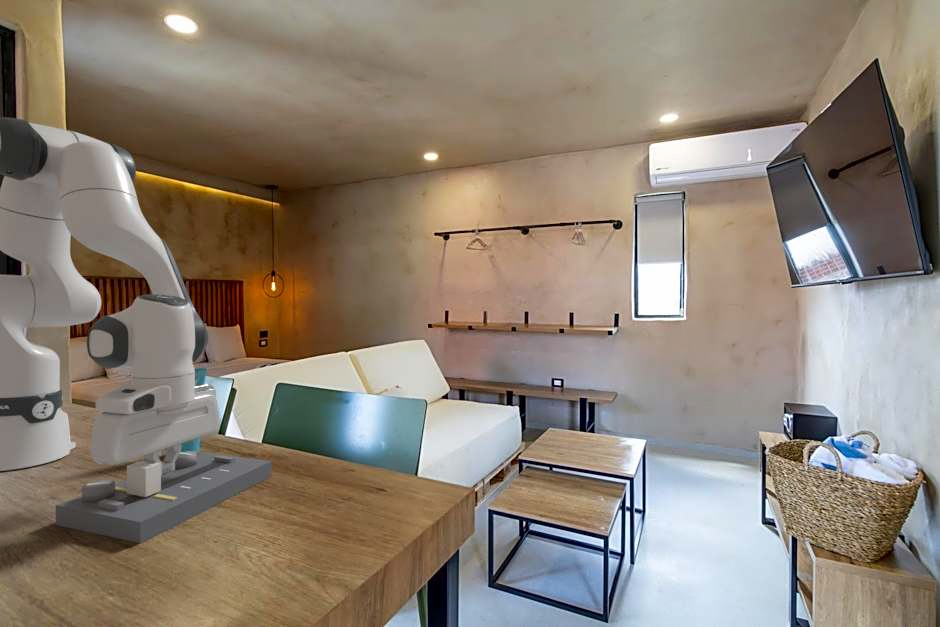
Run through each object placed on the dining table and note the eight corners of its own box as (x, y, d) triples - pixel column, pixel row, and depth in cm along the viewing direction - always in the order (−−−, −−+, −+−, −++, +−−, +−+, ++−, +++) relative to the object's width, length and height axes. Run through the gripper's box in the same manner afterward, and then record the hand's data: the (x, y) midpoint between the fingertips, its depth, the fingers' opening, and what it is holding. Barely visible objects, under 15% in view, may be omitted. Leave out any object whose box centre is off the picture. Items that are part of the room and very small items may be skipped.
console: (55, 524, 67) (55, 490, 67) (202, 466, 92) (203, 441, 92) (140, 543, 62) (140, 506, 62) (271, 476, 87) (271, 450, 87)
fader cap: (126, 493, 71) (126, 465, 71) (142, 487, 73) (142, 459, 73) (145, 497, 70) (145, 467, 69) (160, 490, 72) (160, 462, 72)
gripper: (201, 380, 85) (201, 452, 85) (83, 402, 65) (82, 495, 66) (228, 382, 83) (227, 456, 84) (115, 405, 64) (114, 501, 64)
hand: (163, 473), depth 74 cm, fingers closed
